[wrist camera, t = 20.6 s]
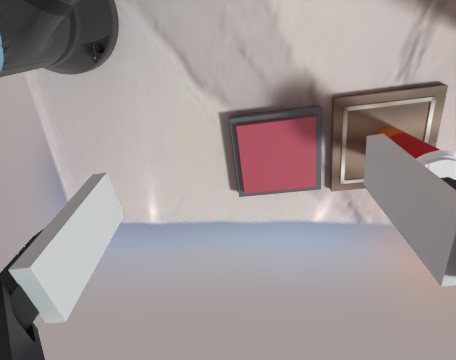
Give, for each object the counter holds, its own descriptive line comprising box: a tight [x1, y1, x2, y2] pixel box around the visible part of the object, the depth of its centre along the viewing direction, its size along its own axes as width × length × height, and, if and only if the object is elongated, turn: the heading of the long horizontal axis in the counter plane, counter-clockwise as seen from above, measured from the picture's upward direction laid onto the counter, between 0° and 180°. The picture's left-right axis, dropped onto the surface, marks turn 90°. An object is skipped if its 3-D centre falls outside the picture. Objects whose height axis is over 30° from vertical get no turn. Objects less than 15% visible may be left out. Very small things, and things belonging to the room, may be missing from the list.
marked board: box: [330, 84, 448, 191], centre depth 48 cm, size 16×16×1 cm
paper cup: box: [373, 127, 456, 180], centre depth 41 cm, size 8×8×14 cm
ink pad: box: [229, 106, 322, 197], centre depth 49 cm, size 14×14×2 cm
